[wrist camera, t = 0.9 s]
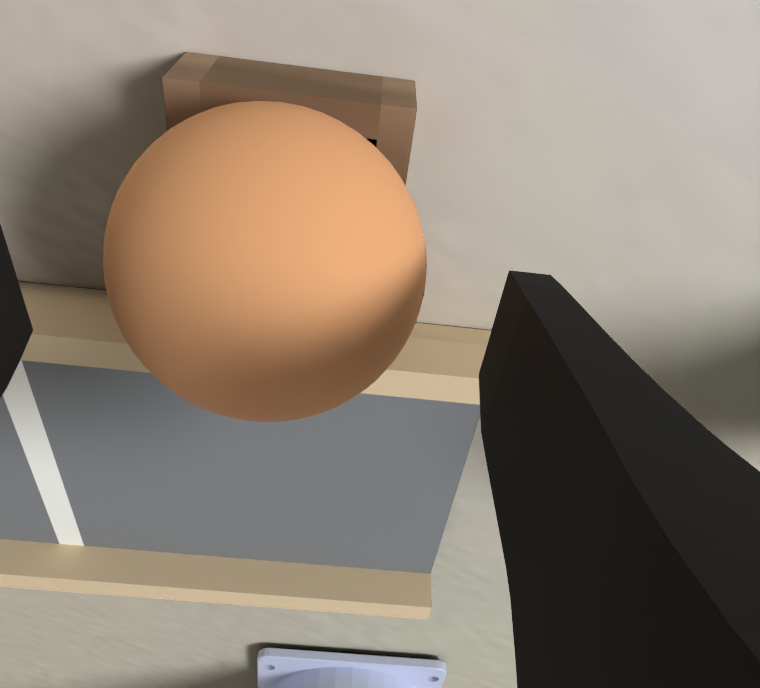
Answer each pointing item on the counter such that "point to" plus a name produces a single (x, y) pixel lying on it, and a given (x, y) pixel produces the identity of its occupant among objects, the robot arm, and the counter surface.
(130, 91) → the counter surface
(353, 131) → the ball
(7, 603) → the counter surface
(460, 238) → the counter surface
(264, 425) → the lane
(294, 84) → the brown open tray
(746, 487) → the robot arm
